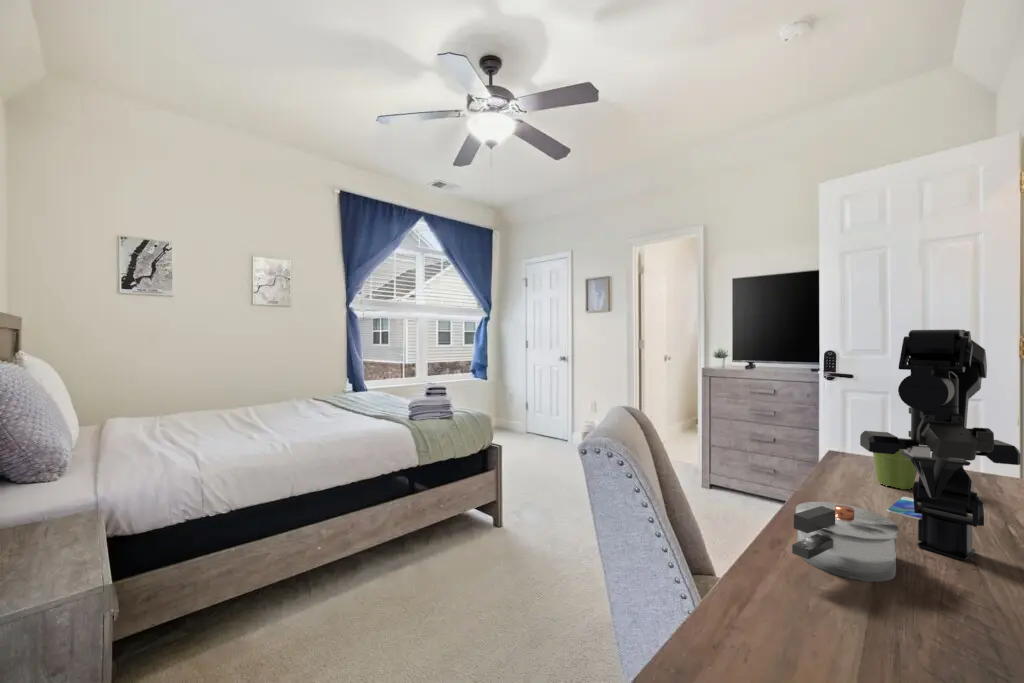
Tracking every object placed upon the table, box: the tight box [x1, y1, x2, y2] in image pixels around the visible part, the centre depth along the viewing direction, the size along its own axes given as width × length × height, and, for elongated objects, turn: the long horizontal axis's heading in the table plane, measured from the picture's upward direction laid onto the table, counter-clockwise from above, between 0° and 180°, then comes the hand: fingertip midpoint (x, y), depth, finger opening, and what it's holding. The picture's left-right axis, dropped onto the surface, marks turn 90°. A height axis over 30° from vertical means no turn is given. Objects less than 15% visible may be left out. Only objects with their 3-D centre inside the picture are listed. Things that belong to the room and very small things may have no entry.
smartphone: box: [886, 495, 922, 520], centre depth 103 cm, size 7×1×15 cm
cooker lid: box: [793, 501, 900, 541], centre depth 78 cm, size 20×15×3 cm
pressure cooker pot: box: [791, 530, 897, 583], centre depth 78 cm, size 25×14×6 cm, turn 121°
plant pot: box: [872, 449, 918, 490], centre depth 120 cm, size 12×12×11 cm
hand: (933, 497), depth 74 cm, fingers closed
